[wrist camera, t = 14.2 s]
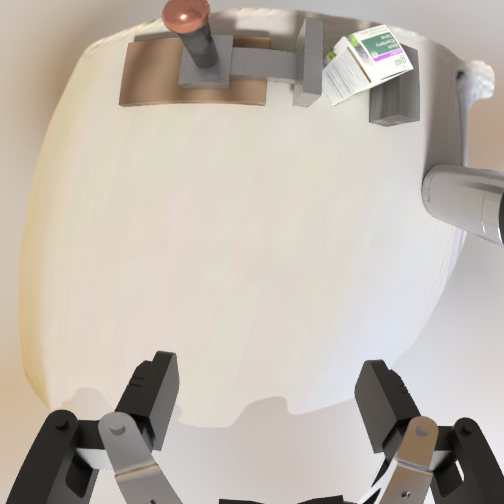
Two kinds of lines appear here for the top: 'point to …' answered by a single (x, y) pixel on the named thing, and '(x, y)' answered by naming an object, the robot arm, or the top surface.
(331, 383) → the top surface
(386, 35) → the syrup box
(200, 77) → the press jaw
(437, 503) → the robot arm
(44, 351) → the top surface
